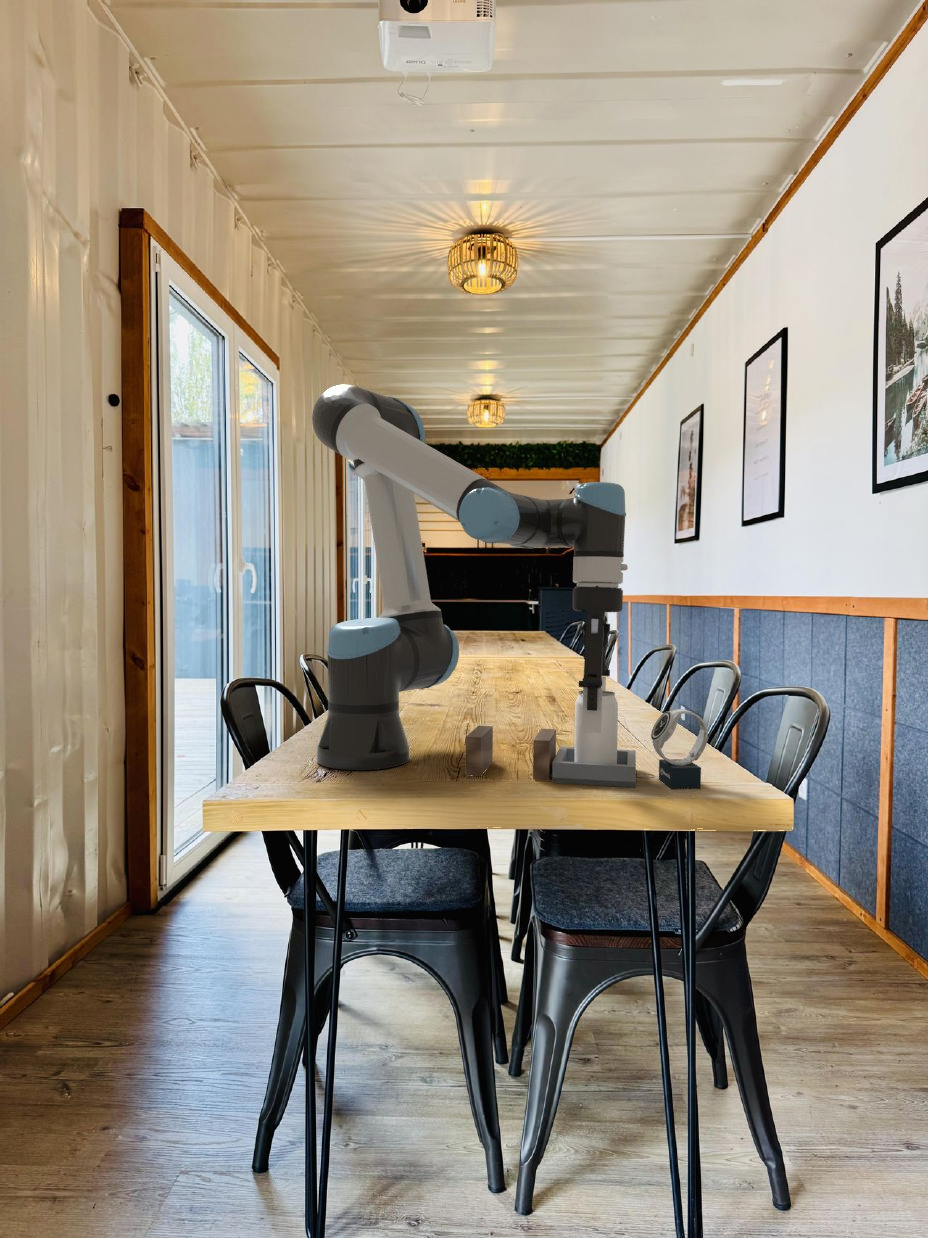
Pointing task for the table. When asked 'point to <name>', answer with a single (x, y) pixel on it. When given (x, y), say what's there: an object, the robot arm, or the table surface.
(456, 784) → the table surface
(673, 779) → the watch
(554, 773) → the tray
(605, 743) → the can
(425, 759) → the table surface
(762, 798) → the table surface
